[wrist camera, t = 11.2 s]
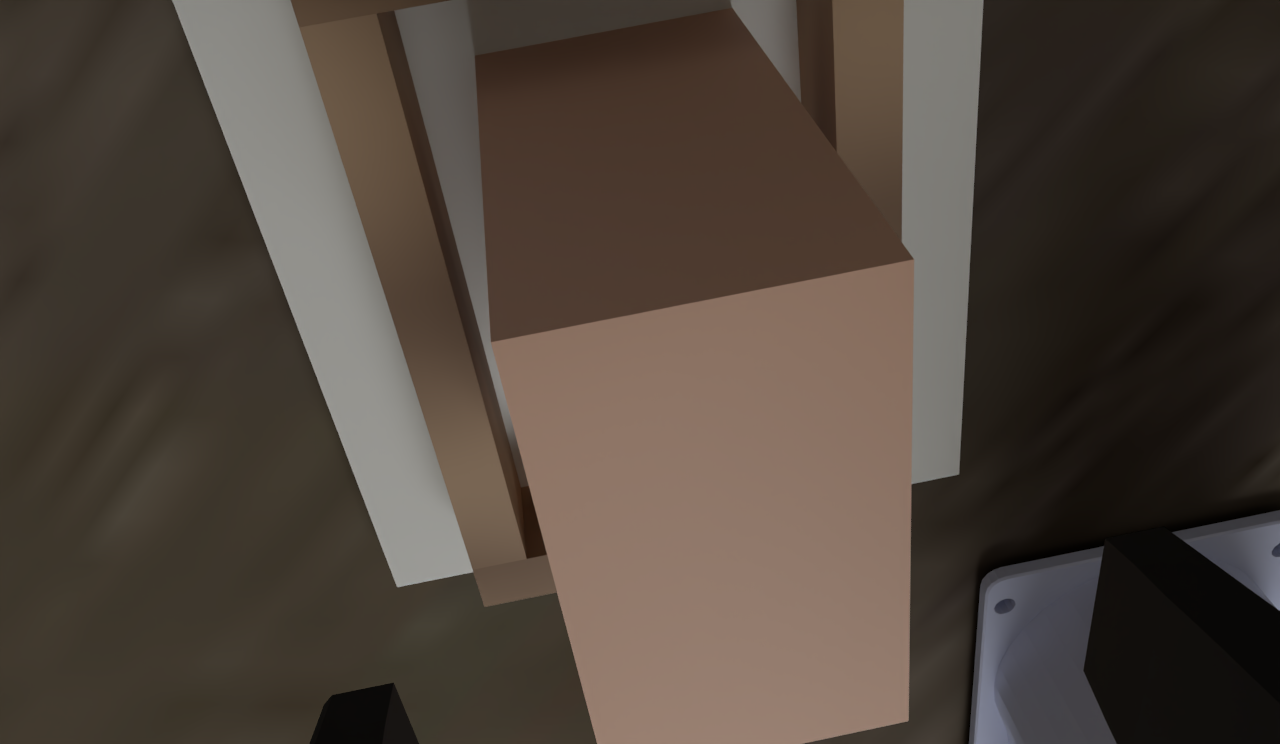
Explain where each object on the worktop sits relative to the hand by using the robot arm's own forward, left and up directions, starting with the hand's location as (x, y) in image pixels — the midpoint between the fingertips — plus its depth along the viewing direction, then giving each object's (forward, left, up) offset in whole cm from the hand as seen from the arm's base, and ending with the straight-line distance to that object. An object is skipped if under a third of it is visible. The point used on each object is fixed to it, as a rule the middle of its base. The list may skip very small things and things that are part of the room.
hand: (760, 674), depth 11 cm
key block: (0, 0, -9) cm, 9 cm away
